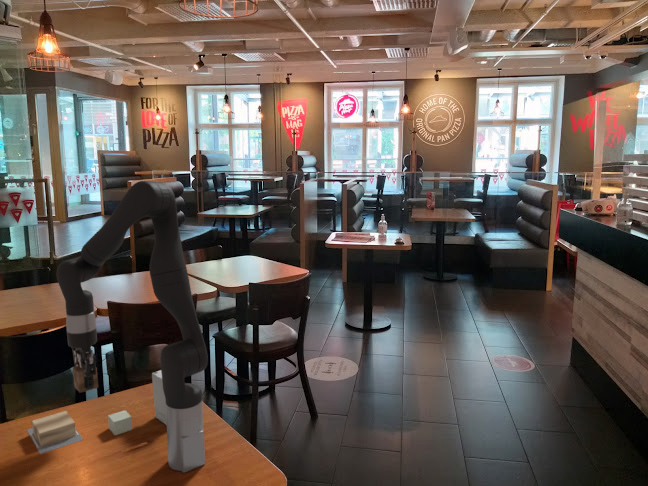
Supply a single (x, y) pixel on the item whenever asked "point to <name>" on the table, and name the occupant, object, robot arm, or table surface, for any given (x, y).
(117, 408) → the table surface
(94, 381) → the block
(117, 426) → the block
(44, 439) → the pedestal
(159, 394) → the skincare box
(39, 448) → the plate
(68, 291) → the robot arm
